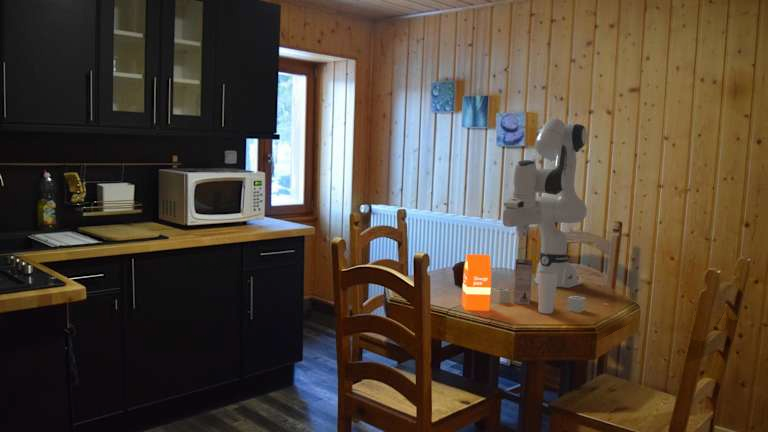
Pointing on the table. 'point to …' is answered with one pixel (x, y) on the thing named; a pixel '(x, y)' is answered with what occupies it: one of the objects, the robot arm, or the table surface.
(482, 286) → the orange juice
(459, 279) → the muffin
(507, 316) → the table surface
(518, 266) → the coffee box
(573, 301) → the digit block offwhite
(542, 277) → the drinking glass
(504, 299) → the digit block sage
